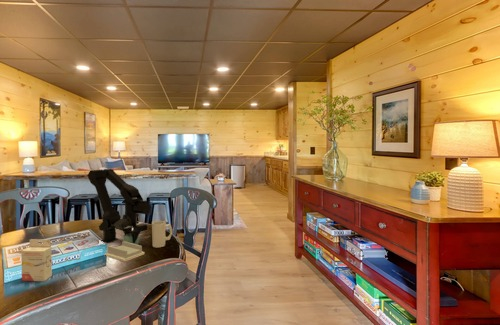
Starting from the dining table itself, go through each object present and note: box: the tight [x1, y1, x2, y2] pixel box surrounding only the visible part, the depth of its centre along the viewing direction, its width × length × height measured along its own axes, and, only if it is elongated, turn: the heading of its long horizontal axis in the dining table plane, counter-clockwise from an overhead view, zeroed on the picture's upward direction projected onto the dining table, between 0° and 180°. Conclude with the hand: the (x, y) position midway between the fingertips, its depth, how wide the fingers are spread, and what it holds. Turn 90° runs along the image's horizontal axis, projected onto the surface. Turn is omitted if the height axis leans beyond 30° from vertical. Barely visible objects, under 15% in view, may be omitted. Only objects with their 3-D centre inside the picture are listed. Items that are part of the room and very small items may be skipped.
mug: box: [151, 220, 173, 249], centre depth 156 cm, size 10×7×12 cm, turn 103°
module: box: [123, 233, 140, 245], centre depth 158 cm, size 6×4×6 cm, turn 150°
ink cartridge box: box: [20, 238, 53, 282], centre depth 116 cm, size 9×5×15 cm, turn 92°
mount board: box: [104, 240, 145, 263], centre depth 143 cm, size 14×11×4 cm
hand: (131, 242), depth 158 cm, fingers closed on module, 4 cm apart
